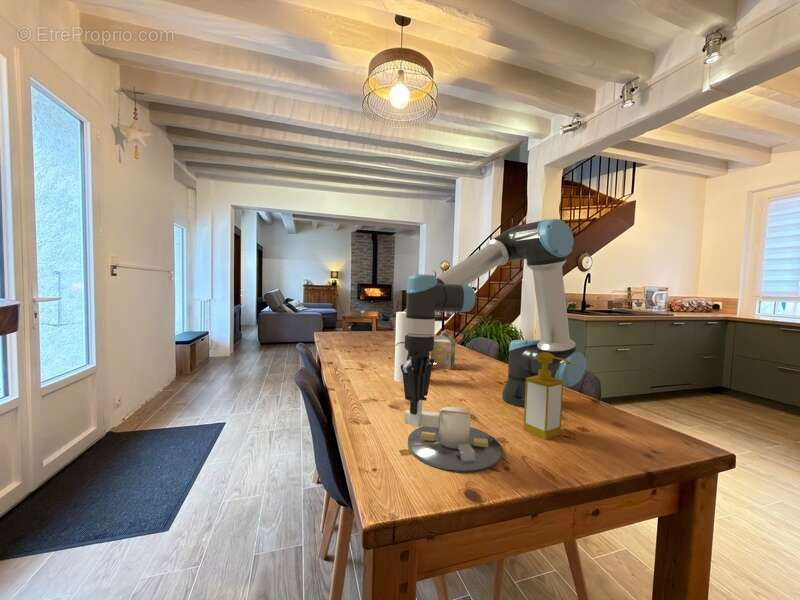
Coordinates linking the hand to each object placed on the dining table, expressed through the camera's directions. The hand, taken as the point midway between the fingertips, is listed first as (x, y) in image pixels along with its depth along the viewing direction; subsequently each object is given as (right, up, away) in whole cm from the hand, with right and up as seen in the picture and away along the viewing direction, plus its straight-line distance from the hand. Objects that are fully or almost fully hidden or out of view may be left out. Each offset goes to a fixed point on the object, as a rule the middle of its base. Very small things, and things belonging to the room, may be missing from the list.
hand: (415, 425), depth 85 cm
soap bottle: (+39, -7, +9) cm, 41 cm away
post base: (+10, -6, +1) cm, 12 cm away
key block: (+8, -4, +1) cm, 9 cm away
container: (-2, -3, +61) cm, 61 cm away
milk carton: (+18, -3, +87) cm, 89 cm away
